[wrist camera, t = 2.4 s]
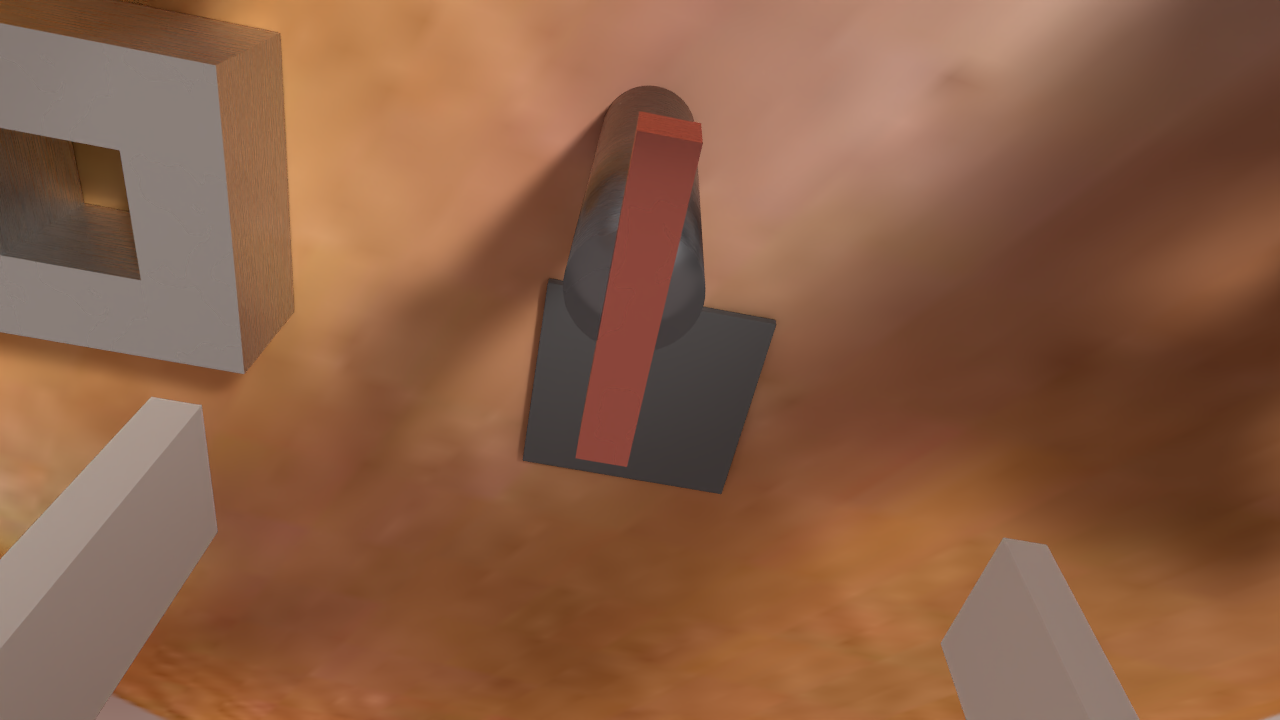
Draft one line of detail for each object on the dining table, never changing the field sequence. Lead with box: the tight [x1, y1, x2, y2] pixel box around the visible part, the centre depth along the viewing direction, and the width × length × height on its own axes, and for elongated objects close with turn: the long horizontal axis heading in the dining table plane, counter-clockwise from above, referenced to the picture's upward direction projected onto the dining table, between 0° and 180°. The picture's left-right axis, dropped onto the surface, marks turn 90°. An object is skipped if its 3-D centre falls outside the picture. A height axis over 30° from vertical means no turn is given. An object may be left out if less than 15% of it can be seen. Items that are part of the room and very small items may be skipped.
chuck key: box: [563, 86, 705, 467], centre depth 26 cm, size 9×4×14 cm, turn 169°
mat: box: [523, 278, 776, 494], centre depth 38 cm, size 10×10×1 cm
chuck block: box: [0, 0, 294, 374], centre depth 31 cm, size 12×12×5 cm
